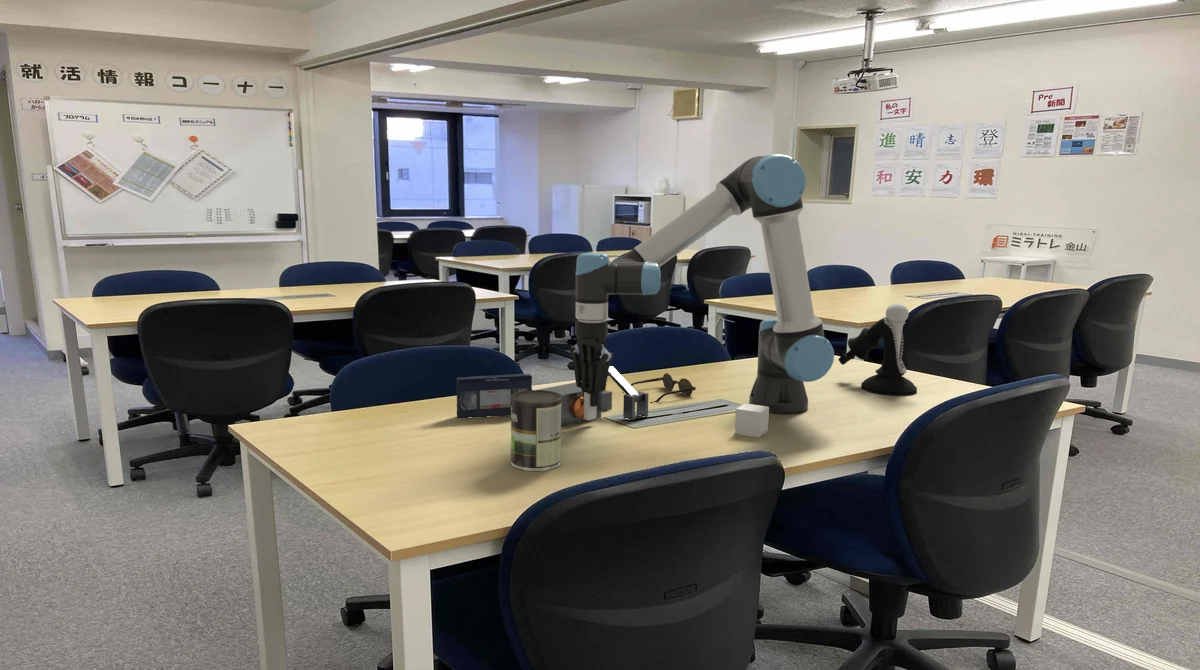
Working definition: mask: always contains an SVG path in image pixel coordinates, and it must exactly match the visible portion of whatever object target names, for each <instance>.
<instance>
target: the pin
mask: <svg viewBox="0 0 1200 670" xmlns="http://www.w3.org/2000/svg"><path fill="white" fill-rule="evenodd" d="M572 413H573V415H574V416H575V417H577V418H580V419H584V404H583V397H582V396H581V397H578V398H576V399H574V400H573V405H572Z"/></svg>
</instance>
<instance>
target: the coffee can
mask: <svg viewBox="0 0 1200 670" xmlns="http://www.w3.org/2000/svg"><path fill="white" fill-rule="evenodd" d="M510 400H511V416H510V465H511V467H513V468H515V469H516V470H519V471H525V472H547V471H551V470H554V469H556V468H559V466H560V465H561V464H562V460H561V452H562V451H561V450H562V449H561V447H562V445H561V444H562V442H561V441H562V426H561V401H562V395H560V394H559V393H556V392H552V391H546V390H538V389H532V390H527V391H520V392H517V393H514V394H512V395H511V397H510Z"/></svg>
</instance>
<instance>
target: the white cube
mask: <svg viewBox="0 0 1200 670" xmlns="http://www.w3.org/2000/svg"><path fill="white" fill-rule="evenodd" d="M769 415H770V412H769V407H767V406H760V405H753V404H749V403H743V404H741V405H740V406H738V407H736V408H735V424H734V434H735V435H740V434H741V436H747V435H748V436H747V437H753V436H757V437H756V438H759V437H760V436H761V437H763V436H764V435H765V434H766V433H768V432H767V431H769V420H770V419H769ZM764 433H765V434H764ZM763 434H764V435H763ZM762 435H763V436H762ZM761 437H760V438H761Z"/></svg>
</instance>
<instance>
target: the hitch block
mask: <svg viewBox="0 0 1200 670" xmlns="http://www.w3.org/2000/svg"><path fill="white" fill-rule="evenodd" d="M537 390H546V391H552V392H556V393H559V394H560V395H562V401H561V427H564V425H565V426H569V424H570V425H573V423H574V424H577V423H582V422H586V420H585V419H580V418H577V417H575V416H574V415H573V413H572V405H573V400H574V399H576V398H578V397H581V396H582V397H583V391H582V390H581V388H580V387H577V386H576V381H575V382H571V383H570V382H569V383H566V384H561V385H555V386H550V387H543V388H539V389H537ZM601 392H602V391H600V392H599V393H598V406H597V413H596V419H600V418H602V410H601Z"/></svg>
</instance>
